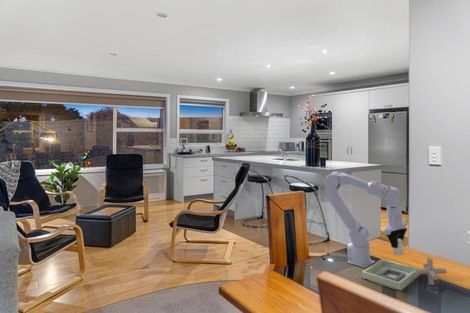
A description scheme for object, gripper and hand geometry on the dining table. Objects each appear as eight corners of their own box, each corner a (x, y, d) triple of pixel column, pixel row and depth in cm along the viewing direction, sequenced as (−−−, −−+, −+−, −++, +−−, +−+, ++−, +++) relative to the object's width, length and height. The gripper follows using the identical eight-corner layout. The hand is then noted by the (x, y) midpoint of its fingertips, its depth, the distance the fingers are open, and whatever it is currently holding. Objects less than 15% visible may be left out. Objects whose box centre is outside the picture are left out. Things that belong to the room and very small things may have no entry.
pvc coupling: (391, 253, 141) (390, 240, 141) (396, 250, 143) (395, 237, 143) (401, 256, 138) (399, 242, 137) (405, 252, 140) (404, 239, 140)
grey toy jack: (452, 290, 119) (449, 263, 118) (422, 290, 121) (420, 265, 120) (440, 277, 128) (438, 253, 127) (413, 278, 130) (411, 254, 130)
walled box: (362, 278, 135) (361, 271, 135) (382, 265, 145) (381, 258, 144) (400, 291, 122) (399, 283, 122) (420, 275, 132) (419, 268, 131)
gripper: (395, 221, 132) (398, 253, 133) (412, 212, 140) (414, 242, 142) (378, 218, 138) (381, 249, 139) (396, 210, 146) (398, 239, 147)
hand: (397, 245), depth 141 cm, fingers closed on pvc coupling, 4 cm apart
